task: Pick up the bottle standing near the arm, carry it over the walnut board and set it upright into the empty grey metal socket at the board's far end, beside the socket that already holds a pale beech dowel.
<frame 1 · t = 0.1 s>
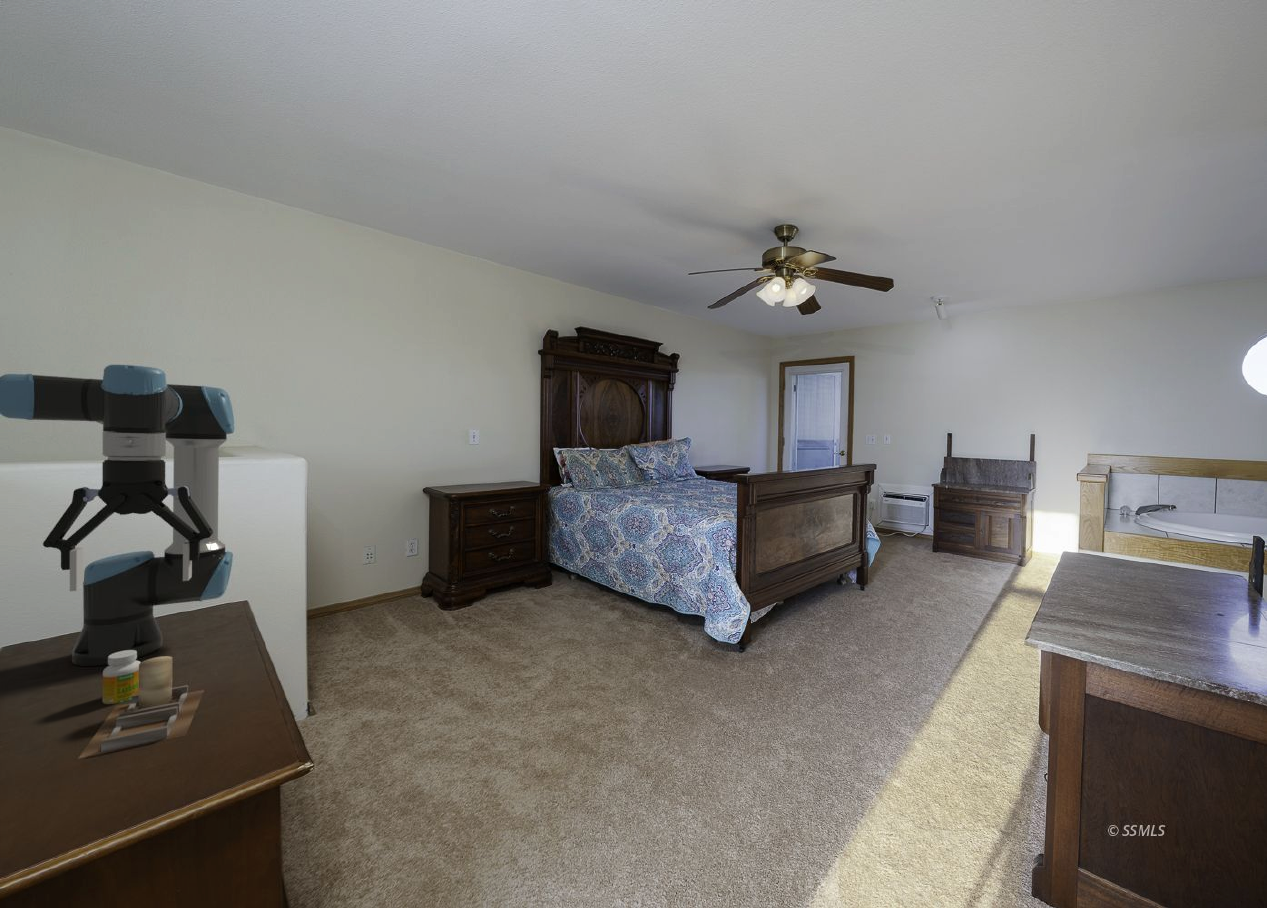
hand: (134, 584, 85), 28 cm above the dresser, fingers open, 13 cm apart
board: (148, 726, 91), on the dresser
beech dowel: (155, 708, 95), point 1 cm above the dresser, touching board
supplement bottle: (122, 703, 99), on the dresser
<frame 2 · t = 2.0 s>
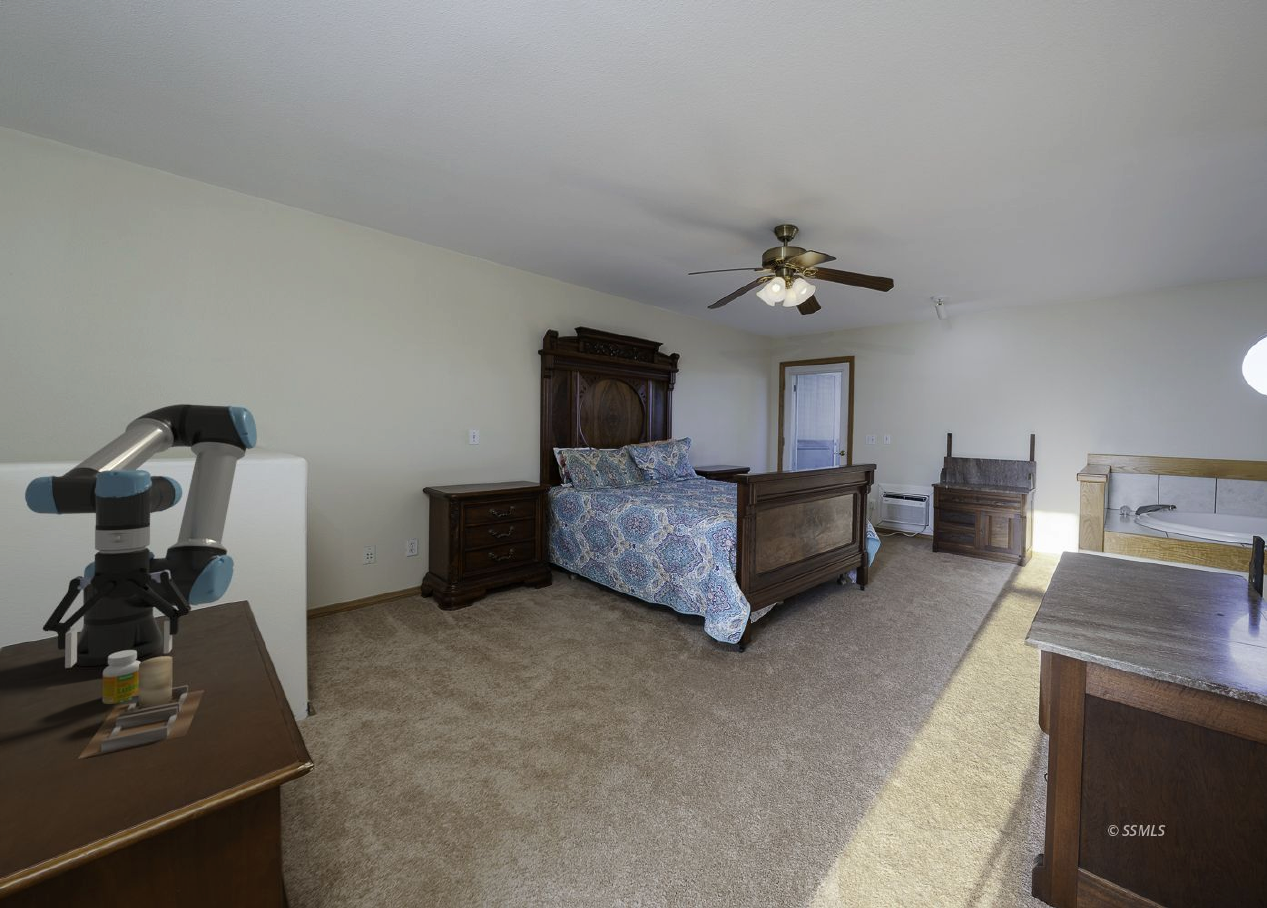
hand: (121, 658, 98), 9 cm above the dresser, fingers open, 13 cm apart
nothing on the dresser moved.
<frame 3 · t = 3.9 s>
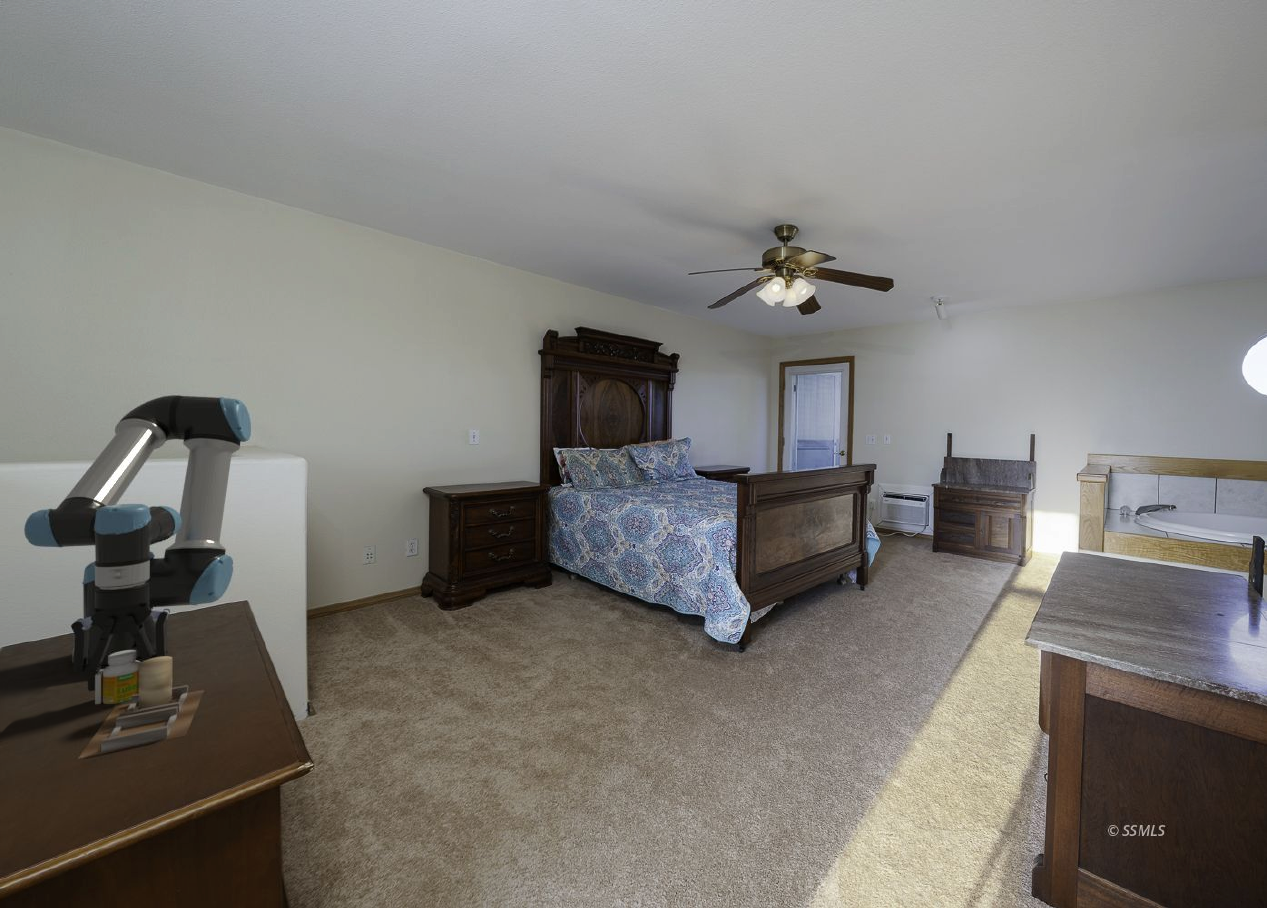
hand: (122, 701, 99), 0 cm above the dresser, fingers closed on supplement bottle, 5 cm apart
supplement bottle: (122, 703, 99), on the dresser, touching gripper
everything else where it was.
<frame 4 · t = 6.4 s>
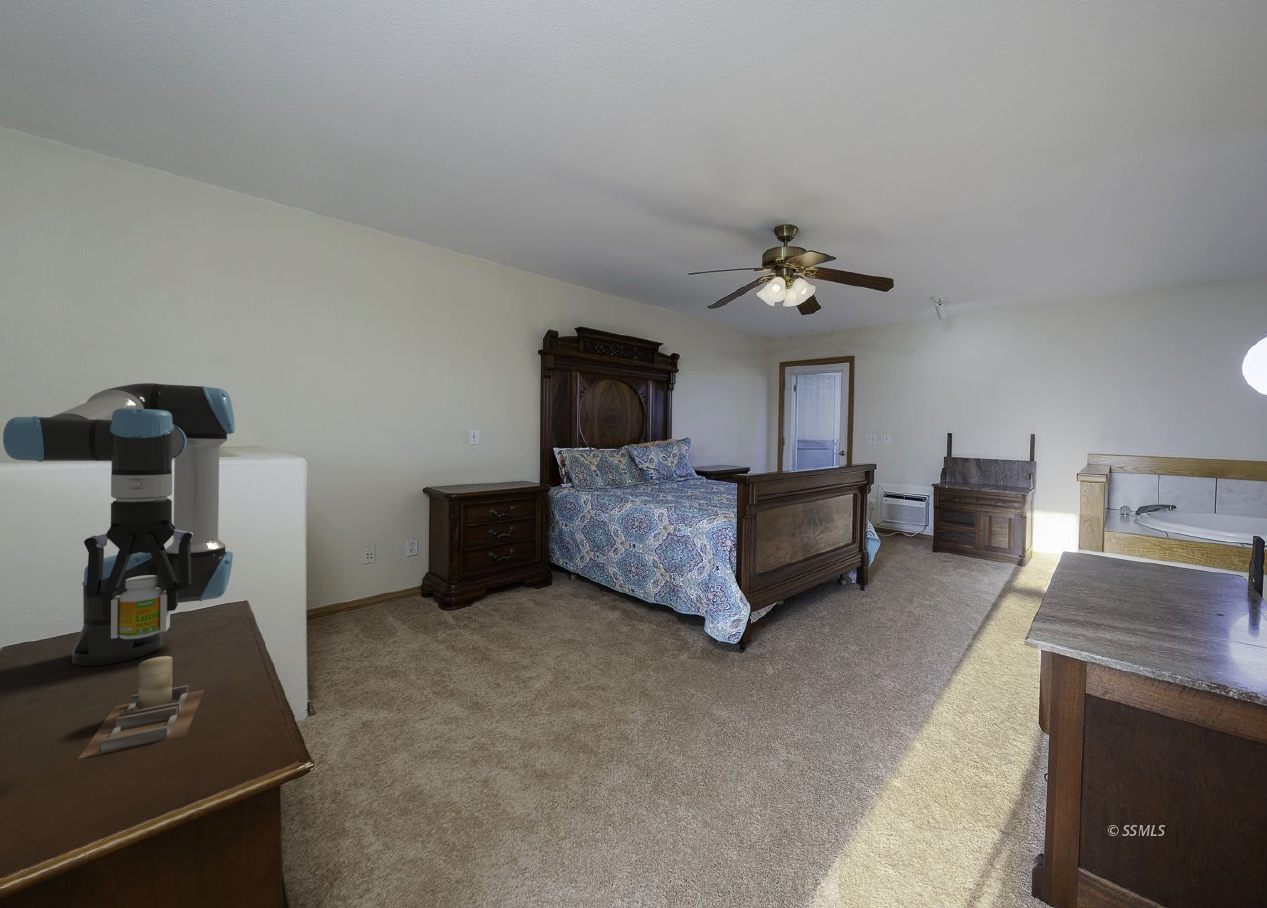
hand: (141, 632, 87), 19 cm above the dresser, fingers closed on supplement bottle, 5 cm apart
supplement bottle: (141, 635, 87), point 18 cm above the dresser, touching gripper
everything else where it was.
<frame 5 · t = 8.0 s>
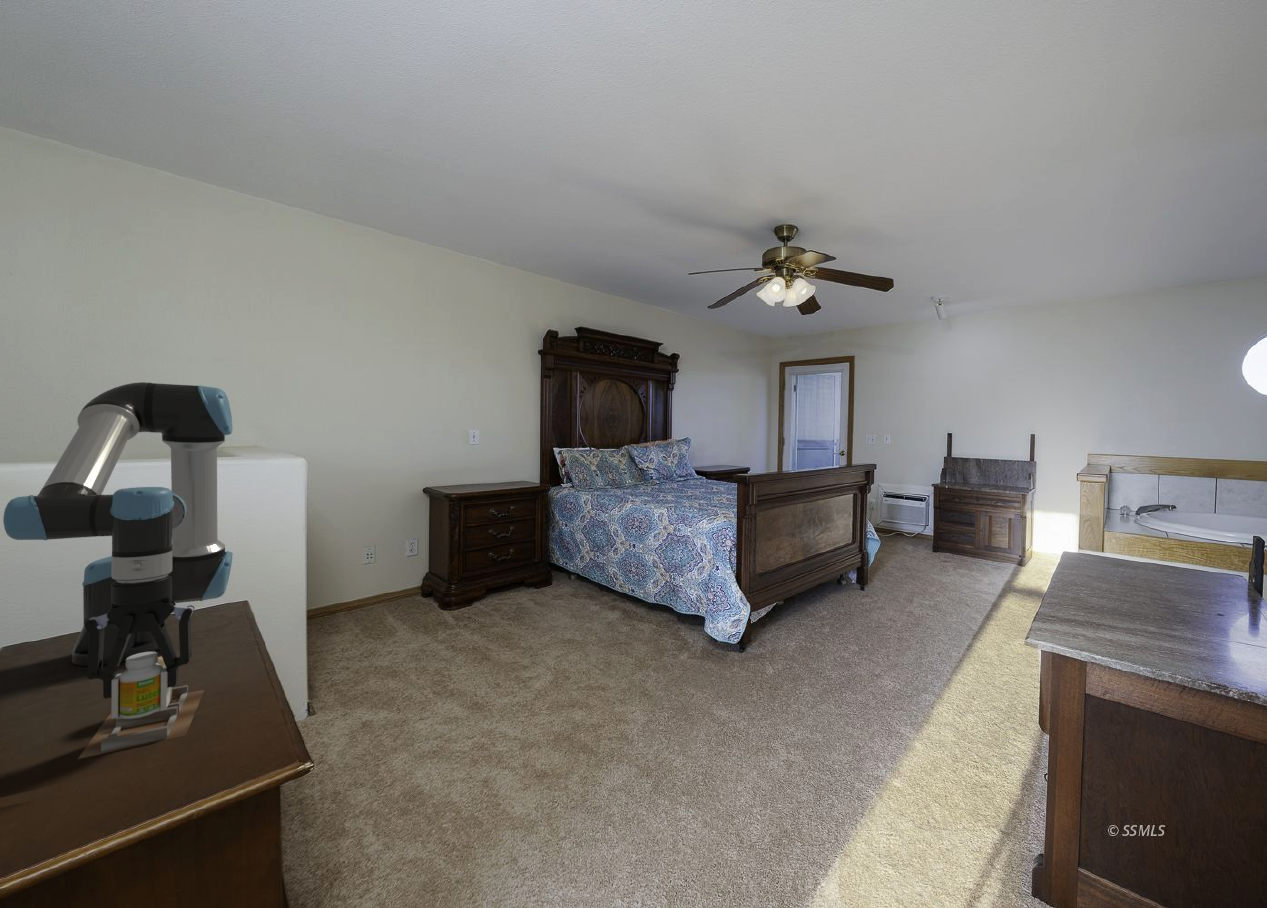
hand: (141, 709, 87), 5 cm above the dresser, fingers closed on supplement bottle, 5 cm apart
supplement bottle: (141, 712, 87), point 5 cm above the dresser, touching gripper
everything else where it was.
when the fingers open (2 cm above the dresser, at t = 9.2 s): supplement bottle stays where it is, resting on board.
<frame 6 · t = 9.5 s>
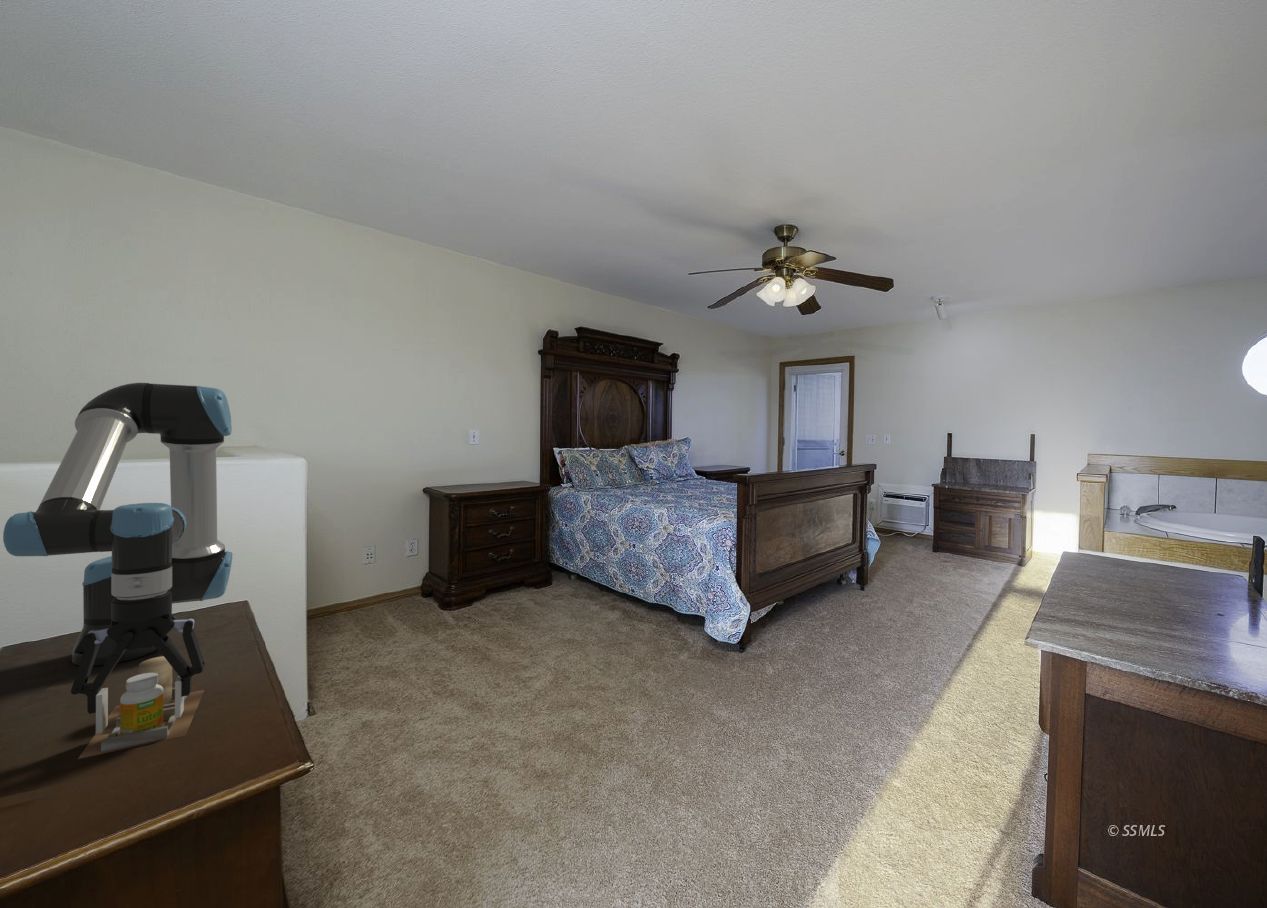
hand: (141, 721, 88), 3 cm above the dresser, fingers open, 9 cm apart
supplement bottle: (141, 733, 88), point 1 cm above the dresser, touching board
everything else where it was.
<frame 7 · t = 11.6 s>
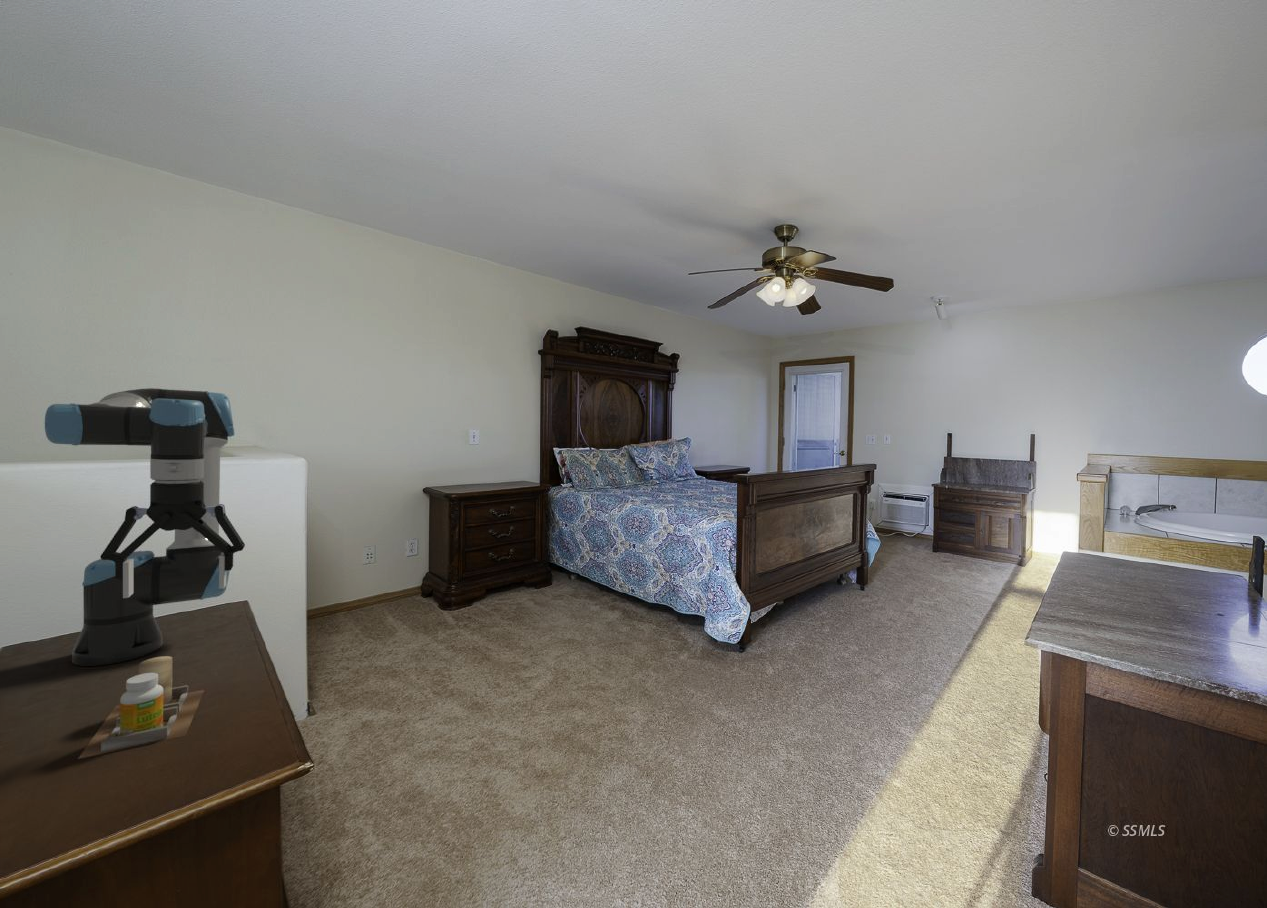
hand: (177, 591, 96), 23 cm above the dresser, fingers open, 13 cm apart
nothing on the dresser moved.
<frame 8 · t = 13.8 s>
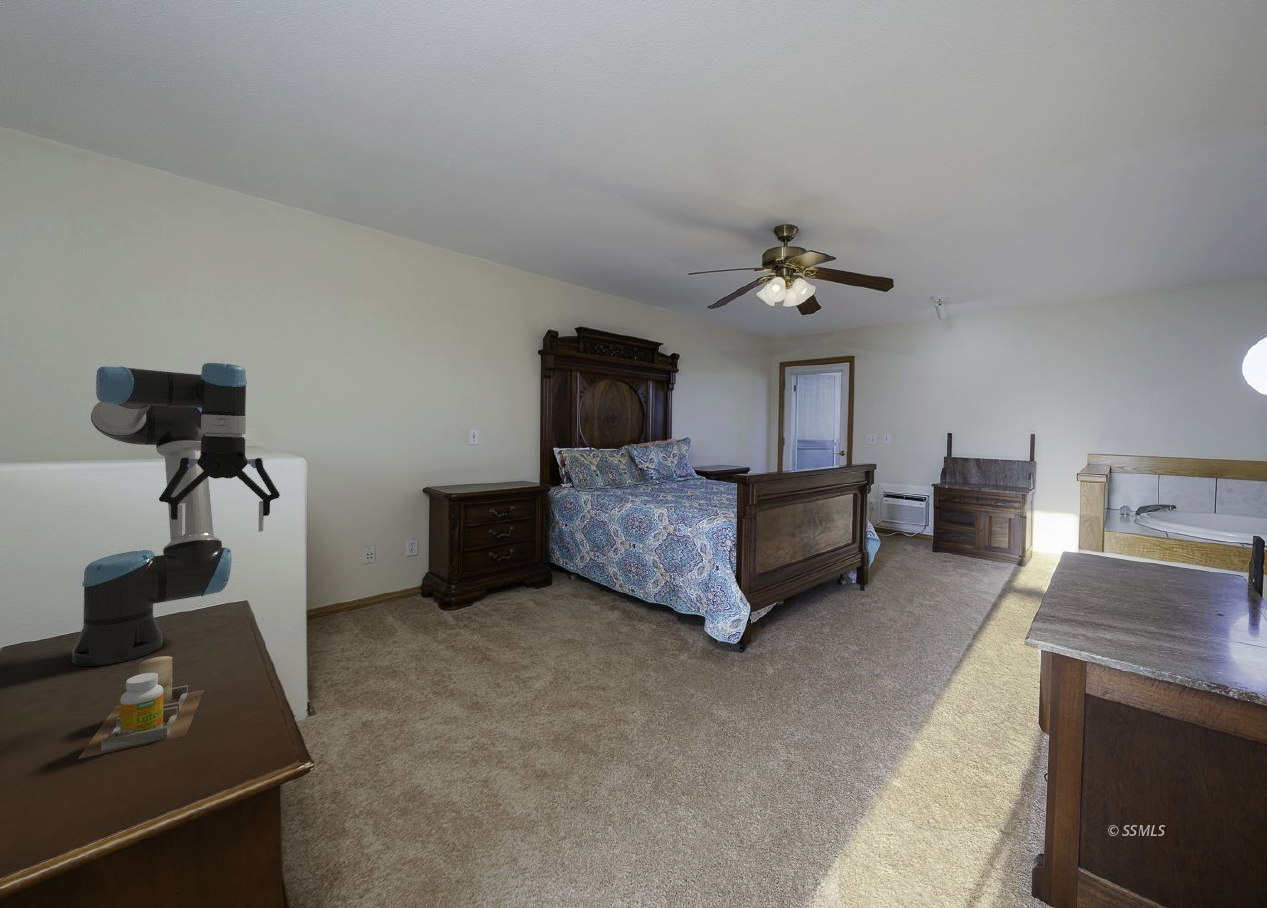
hand: (222, 532, 110), 32 cm above the dresser, fingers open, 13 cm apart
nothing on the dresser moved.
at the end: supplement bottle 0.0 cm from the target spot on the board, point 1.0 cm above the board's base; supplement bottle tilted 0°; the gripper is holding nothing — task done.
